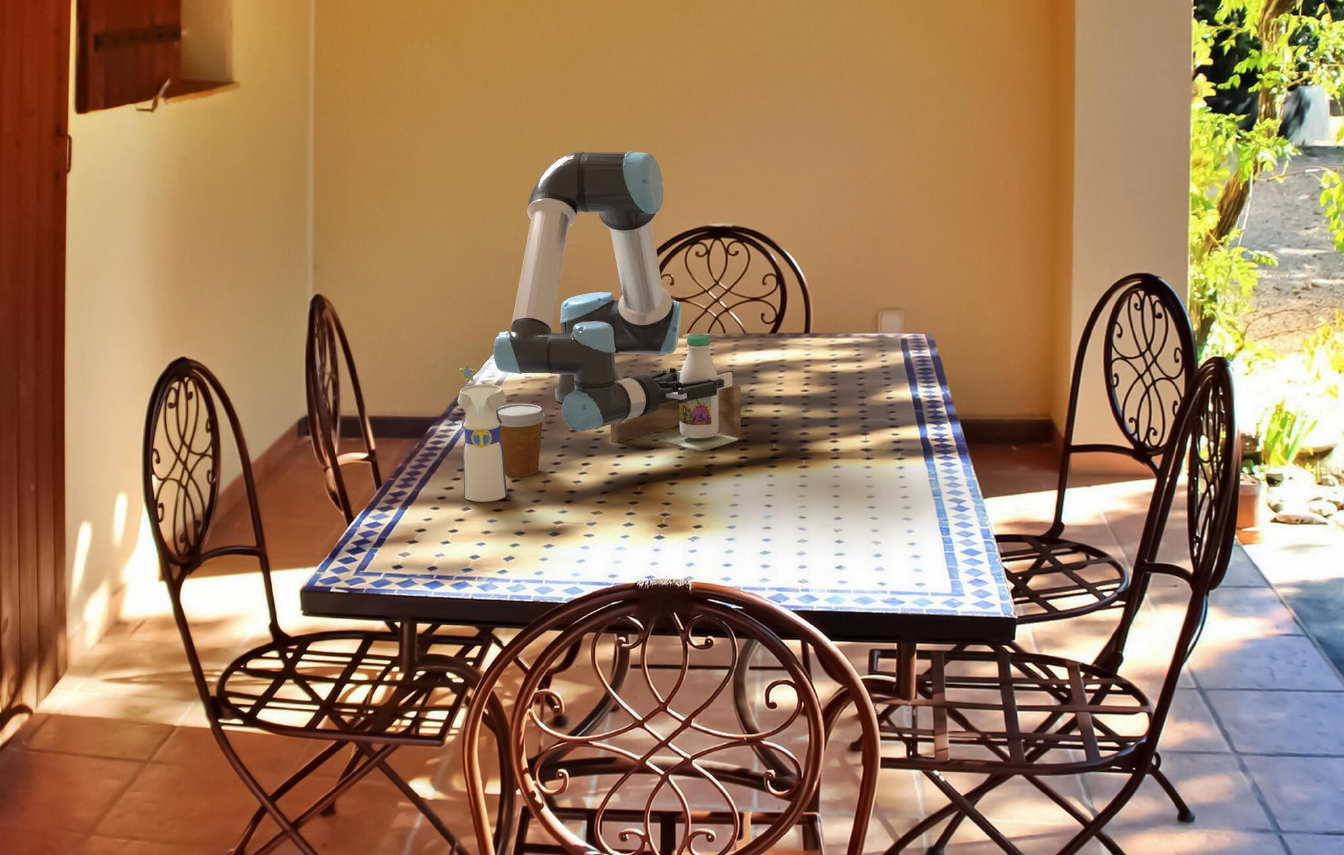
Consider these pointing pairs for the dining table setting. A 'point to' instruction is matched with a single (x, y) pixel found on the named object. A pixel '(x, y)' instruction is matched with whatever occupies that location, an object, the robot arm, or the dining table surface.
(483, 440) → the white tall bottle shape
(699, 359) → the milk bottle
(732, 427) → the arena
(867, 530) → the dining table surface
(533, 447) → the disposable coffee cup
